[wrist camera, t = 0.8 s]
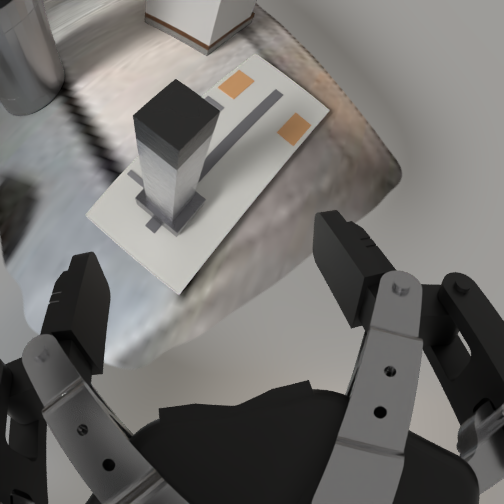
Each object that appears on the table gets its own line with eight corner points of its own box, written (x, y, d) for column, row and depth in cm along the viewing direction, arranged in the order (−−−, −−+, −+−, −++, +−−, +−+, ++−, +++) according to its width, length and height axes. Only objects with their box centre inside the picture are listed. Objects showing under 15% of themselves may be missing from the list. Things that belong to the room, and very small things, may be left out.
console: (90, 220, 30) (85, 214, 28) (250, 64, 38) (255, 52, 35) (178, 295, 32) (179, 295, 29) (321, 119, 39) (330, 110, 37)
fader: (136, 204, 29) (111, 111, 13) (164, 173, 30) (168, 64, 14) (176, 237, 30) (188, 172, 14) (203, 205, 31) (242, 117, 15)
